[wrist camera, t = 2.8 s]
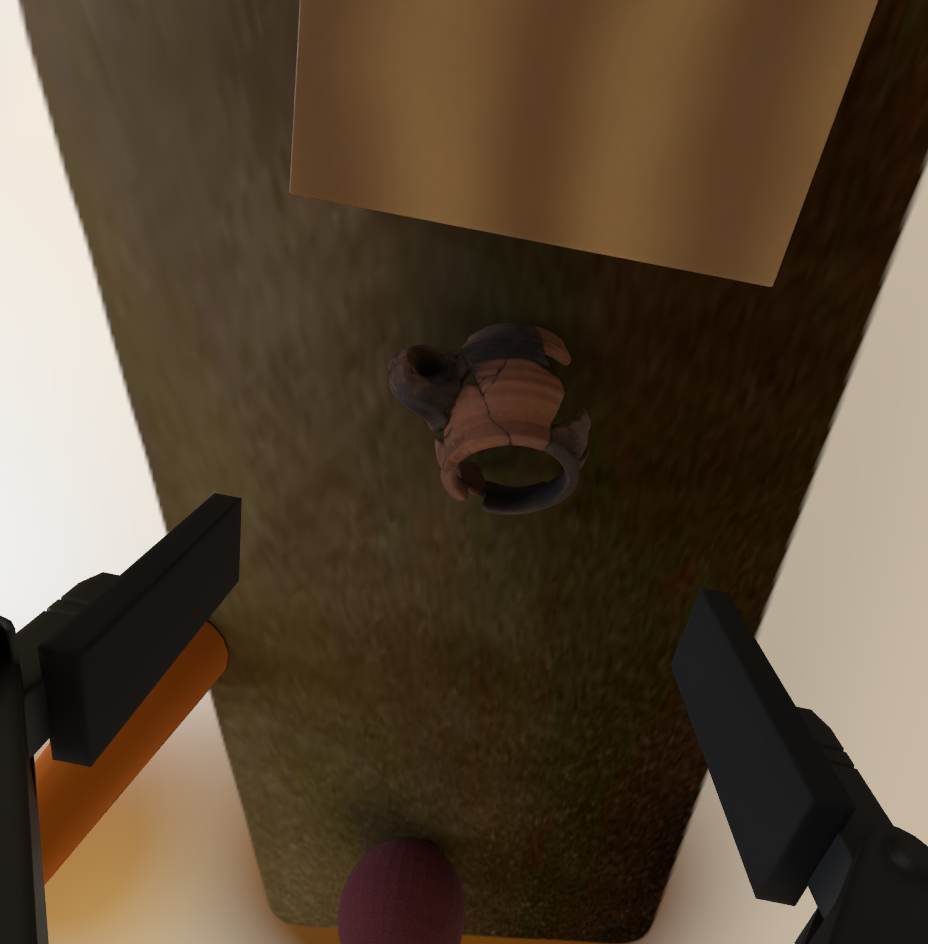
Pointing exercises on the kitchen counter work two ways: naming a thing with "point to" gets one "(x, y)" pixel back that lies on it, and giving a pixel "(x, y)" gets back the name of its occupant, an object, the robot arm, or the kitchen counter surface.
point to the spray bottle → (121, 752)
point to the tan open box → (578, 119)
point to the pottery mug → (494, 410)
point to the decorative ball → (402, 897)
